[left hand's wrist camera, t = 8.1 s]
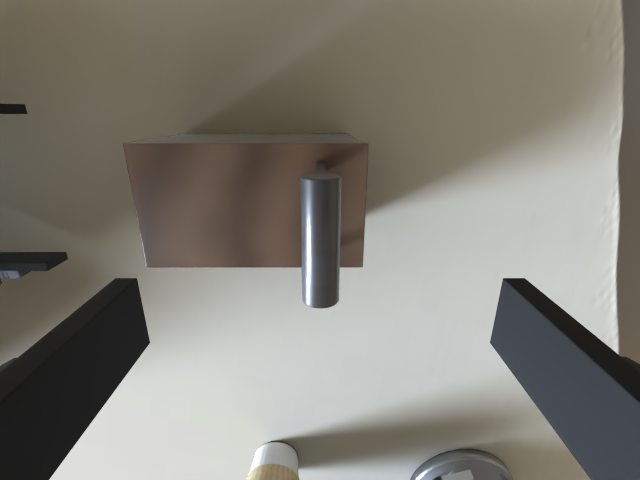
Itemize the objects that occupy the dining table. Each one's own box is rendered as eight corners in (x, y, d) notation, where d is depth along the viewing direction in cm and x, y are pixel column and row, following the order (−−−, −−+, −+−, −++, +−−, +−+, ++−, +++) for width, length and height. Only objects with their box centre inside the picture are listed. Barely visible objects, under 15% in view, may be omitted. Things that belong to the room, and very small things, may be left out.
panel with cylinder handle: (366, 142, 25) (390, 157, 17) (361, 262, 28) (378, 325, 20) (130, 142, 25) (35, 157, 17) (152, 262, 28) (82, 325, 20)
